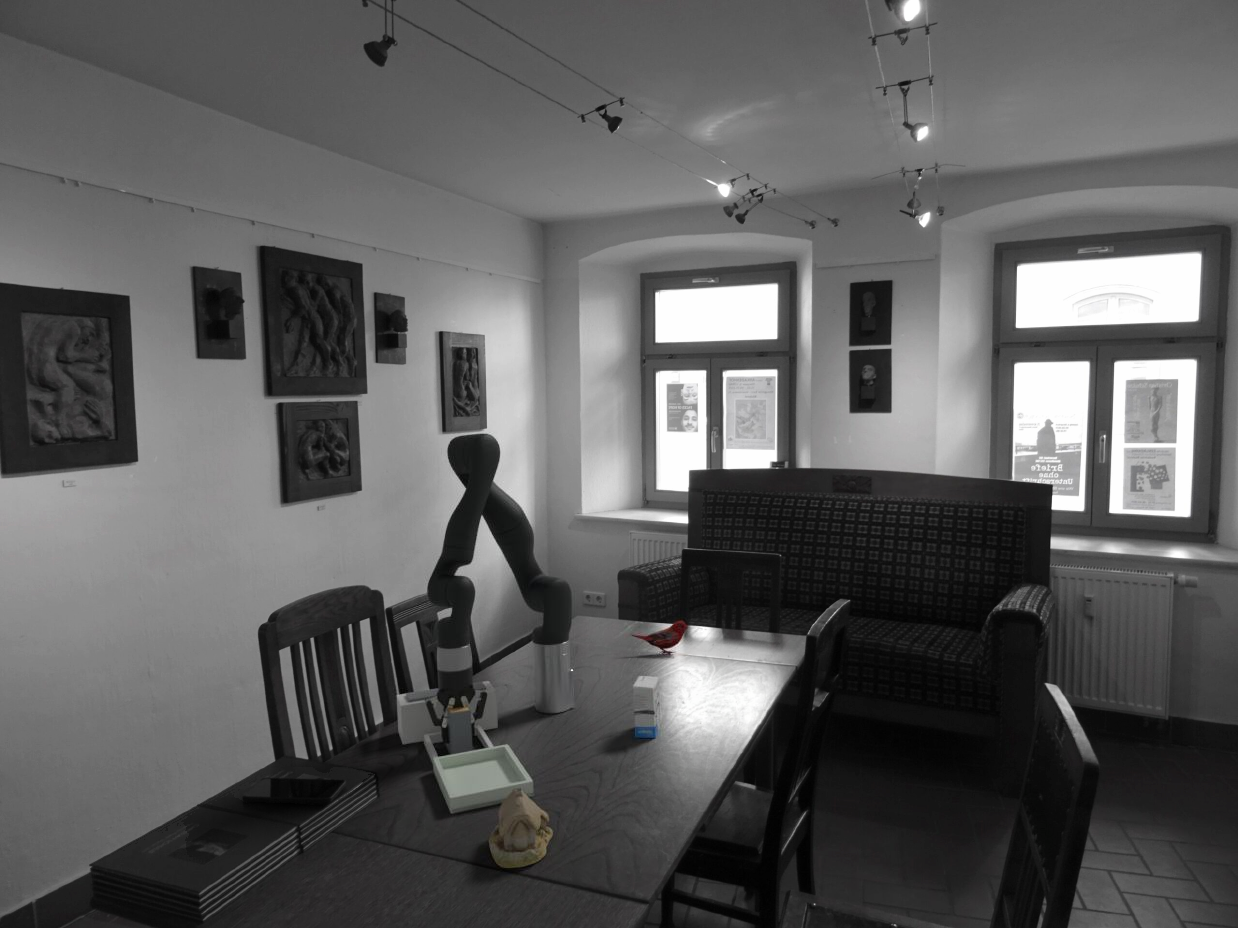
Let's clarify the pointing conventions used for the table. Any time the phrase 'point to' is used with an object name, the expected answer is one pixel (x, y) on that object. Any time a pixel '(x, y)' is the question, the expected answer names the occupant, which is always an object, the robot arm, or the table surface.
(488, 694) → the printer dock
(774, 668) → the table surface
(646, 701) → the ink box
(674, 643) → the decorative bird figurine
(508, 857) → the ceramic model
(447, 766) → the tray
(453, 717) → the block
